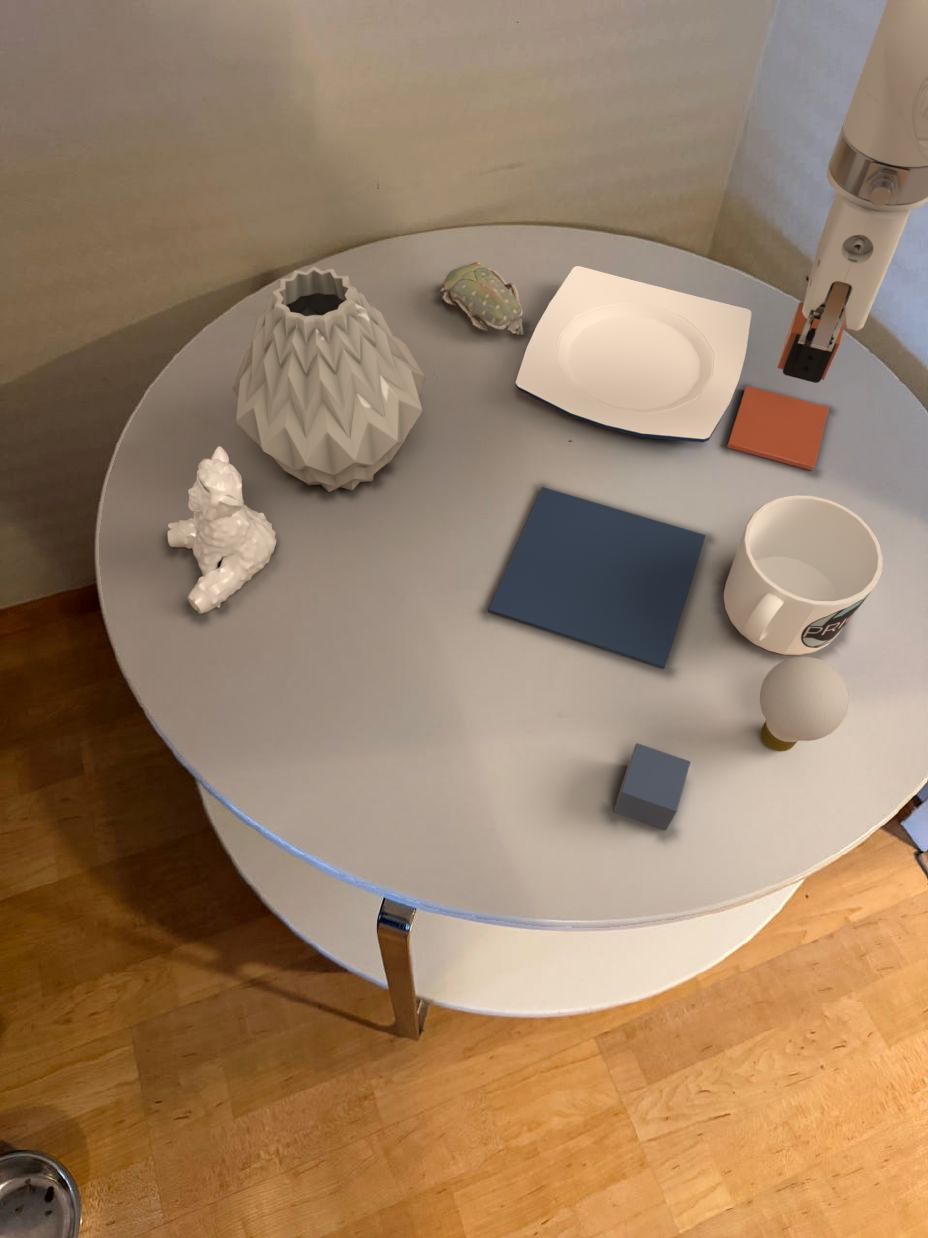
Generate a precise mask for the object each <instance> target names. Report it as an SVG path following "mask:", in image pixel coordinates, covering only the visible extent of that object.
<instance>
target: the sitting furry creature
mask: <svg viewBox="0 0 928 1238" xmlns="http://www.w3.org/2000/svg"><path fill="white" fill-rule="evenodd" d="M197 465H198V466H197V468H198V469H197V471H196V479H195V482H194V483H193V485H192V487H190V488H188V490H187V493H188V501H187V506H188V509H189V510H190V511H191V512H193V517H189V518H188V519H185V520H182V519H179V520H178V521H174V522H169V523H168V524H167V527H168V529H169V530H168V531H167V542H168V545H169V547H170V548H186V549H189V550H190V549H192V554H193V556H194V557H195V559H196V561H197V563H198V567H199V569H200V571H201V573H202V576H200V577H199V578H198V580H197V583H196V584H195V585H194V587H193V588H192V590H190V592H189V594H188V596H187V600H188V602H189V604H190V605H191V607H192V608H193V610H194V611H196V612H198V615H201V614H206V613H208V612H210V611H212V610H214V609H216V608H218V609H220V608H221V604H222V602H226V601H227V599H228V598H229V597H231V596H232V595H234V593H236V591H238V590H240V589H242V587H243V586H244V584H245V583H246V582H249V581H251V580H252V578H253V576H254V575H255V574H256V573H259V572H260V571H261V570H263V569H265V566H266V565H267V564H269V563H270V561H271V557H272V554H273V553H274V551H275V548H276V545H277V538H276V531H275V530H274V529H273V524H272V523H271V522H270V521H268V520H267V518H266V515H265V514H264V513H263V512H258V511H256V510H253V509H251V508H250V507H248V506H247V505H246V504H245V502H244V497H243V483H242V482H243V481H242V475H241V473H240V472H239V471H238V470H237V468H236V467H235V466H234V465H233V464H231V463H230V458H229V455H228V453H227V452H226V450H225V449H224V448H223V447H222V446H217V447H216V448H215V450H214V452H213V454H212V456H211V458H203V459H201V461H200V462H199V463H198V464H197ZM219 562H221V563H220V566H219ZM218 566H219V567H218Z"/></svg>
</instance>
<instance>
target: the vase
mask: <svg viewBox="0 0 928 1238" xmlns="http://www.w3.org/2000/svg"><path fill="white" fill-rule="evenodd" d="M255 324H256V325H255V327H254V332H253V335H252V339H251V343H250V347H249V348H248V349H247V350H246V351H245V354H244V356H243V358H242V361H241V364H240V366H239V368H238V372H237V374H236V377H235V379H234V382H233V384H232V391H233V392H234V395H235V396H236V398H237V406H236V416H235V423H236V424H237V425H238V426H239V427H240V428H241V429H242V430H243V431H244V433H245V434H247V435H248V436H249V438H250V439H252V441H253V442H254V443H256V445H258V447H259V448H261V450H262V452H263V453H265V454H267V455H269V456H270V457H271V458H272V459H273V460H274V461H275V462H276V463H277V464H278V465H279V466H280V467H281V468H282V470H283V471H284V472H286V473H288V474H290V475H291V476H293V477H295V478H296V479H298V480H300V481H301V482H304V483H305V484H307V486H314V485H317V486H318V485H320V486H321V487H322V488H324V489H325V490H326V491H327V492H328V493H330V492H332V491H335V490H336V489H339V488H343V489H346V490H349V491H354V489H355V488H356V487H358V485H359V484H360V483H362V482H363V483H365V482H373V481H374V477H375V474H376V473H377V472H379V471H380V470H381V469H382V468H384V467H385V466H386V465H388V464H390V463H391V461H392V460H393V459H394V457H395V456H396V454H397V453H398V451H399V450H400V448H401V447H402V445H404V443H405V441H406V439H407V437H408V434H409V433H410V432H411V431H412V428H413V427H414V425H415V424H416V422H417V421H418V419H419V418H420V417H421V414H422V413H423V408H422V405H421V401H420V397H421V396H420V395H421V392H422V389H423V386H424V383H425V380H426V376H425V374H424V372H423V371H422V370H421V367H420V366H419V364H418V362H417V361H416V359H415V358H414V356H413V355H412V353H411V351H410V350H409V348H408V346H407V344H406V342H405V341H403V340H402V339H400V338H398V337H397V336H396V335H395V334H394V333H393V332H391V330H390V327H389V325H388V324H387V322H386V320H385V318H384V316H383V314H382V312H381V311H380V310H378V309H377V308H375V307H374V306H373V305H371V304H369V302H368V301H367V299H366V297H365V295H364V293H361V292H359V291H358V290H357V288H356V287H354V286H353V285H352V283H351V280H350V277H349V276H348V275H339V274H338V273H337V272H336V271H335V269H334V268H333V267H332V268H331V267H330V268H328V269H324V270H321V269H320V268H318V267H316V265H315V266H314V265H313V266H312V267H310V268H309V269H307V270H306V271H303V270H298V269H297V270H296V269H295V270H294V271H293V272H292V274H291V276H290V277H287V278H280V279H279V288H278V289H276V290H273V291H272V293H271V297H270V298H269V299H268V301H267V305H266V309H265V310H264V311H263V312H262V313H261V314H260V316H258V318H257V319H256V323H255Z"/></svg>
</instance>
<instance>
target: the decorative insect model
mask: <svg viewBox="0 0 928 1238" xmlns="http://www.w3.org/2000/svg"><path fill="white" fill-rule="evenodd" d="M441 286H442V287H441V289H440V290H439V296H440V300H441V301H443V300H444V302H445V303H447V304H449V305H451V306H454V307H456V304H455V303H457V304H458V306H459V307H460V309H462V311H463V312H464V313H466V315H467V318H469V319H470V320H471V322H472V325H473V326H475V327H476V328H478V329H480V330H482V331H484V332H488V331H489V330H488V326H489V327H491V328H493V329H496V330H505V329H506V328H507V330H508V331H509V332H511V333H512V334H513V335H514V334H516V335H518V336H521V335H524V334H525V333H524V326H523V318H522V316H523V313H524V311H523V308H522V305H521V301H520V294H519V292H518V289H517V287H516V285H515V284H513V283H512V282H509V283H508V282H506V281H505V279H504V277H502V274H501V273H499V272H498V271H496V270H495V269H492V268H489V267H488V268H487V267H485V265H484V264H482V262H479V261H475V262H473V263H470V264H468V265H463V266H460V267H457V268H455V269H452V270H450V271H449V272H448V273H447V275H446V276H445V278H444V279H443V283H442V285H441Z"/></svg>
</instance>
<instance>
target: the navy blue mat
mask: <svg viewBox="0 0 928 1238" xmlns="http://www.w3.org/2000/svg"><path fill="white" fill-rule="evenodd" d="M705 538H706V535H705V534H703V533H700V532H697V531H693V530H689V529H686V528H682V527H679V526H677V525H673V524H669V523H666V522H662V521H660V520H655V519H652V518H648V517H647V516H642V515H639V514H635V513H632V512H628V511H625V510H622V509H618V508H614V507H611V506H608V505H605V504H601V503H598V502H594V501H591V500H588V499H584V498H581V497H577V496H574V495H571V494H568V493H563V492H560V491H557V490H554V489H550V488H546V487H543V486H542V487H541V488H540V490H539V492H538V495H537V498H536V499H535V502H534V504H533V507H532V509H531V511H530V514H529V516H528V518H527V520H526V522H525V525H524V527H523V529H522V532H521V534H520V536H519V539H518V541H517V543H516V546H515V547H514V550H513V552H512V554H511V557H510V559H509V561H508V564H507V566H506V568H505V570H504V572H503V575H502V578H501V580H500V583H499V585H498V586H497V589H496V592H495V593H494V596H493V598H492V601H491V603H490V605H489V607H488V613H490V614H494V615H498V616H500V617H503V618H506V619H510V620H512V621H516V622H518V623H522V624H524V625H528V626H531V627H534V628H538V629H540V630H543V631H546V632H550V633H552V634H556V635H559V636H562V637H565V638H568V639H571V640H574V641H577V642H580V643H584V644H587V645H590V646H593V647H596V648H599V649H602V650H605V651H608V652H611V653H614V654H617V655H620V656H624V657H626V658H629V659H633V660H636V661H639V662H642V663H646V664H648V665H651V666H655V667H658V668H660V669H666V665H667V663H668V660H669V659H668V658H669V656H670V652H671V650H672V646H673V643H674V639H675V636H676V633H677V630H678V626H679V623H680V620H681V617H682V613H683V610H684V606H685V604H686V601H687V597H688V593H689V590H690V587H691V584H692V581H693V578H694V574H695V571H696V568H697V565H698V562H699V557H700V554H701V552H702V548H703V546H704V542H705Z"/></svg>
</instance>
